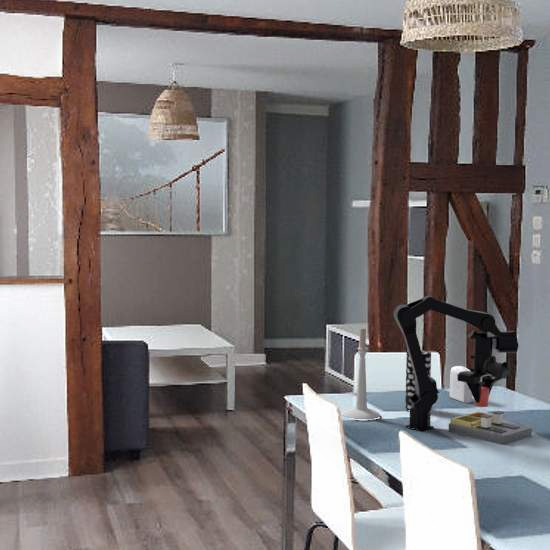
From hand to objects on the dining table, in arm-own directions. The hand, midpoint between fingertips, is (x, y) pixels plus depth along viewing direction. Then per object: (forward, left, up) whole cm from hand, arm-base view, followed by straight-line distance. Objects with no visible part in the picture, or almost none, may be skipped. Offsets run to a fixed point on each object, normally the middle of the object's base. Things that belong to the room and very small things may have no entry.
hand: (481, 401), depth 263 cm
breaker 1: (-7, -7, -6) cm, 11 cm away
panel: (-4, -6, -9) cm, 11 cm away
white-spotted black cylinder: (+4, +28, -9) cm, 30 cm away
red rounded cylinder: (0, 0, -1) cm, 1 cm away
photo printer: (+29, +28, -9) cm, 42 cm away
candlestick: (-18, +34, -9) cm, 40 cm away
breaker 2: (0, -6, -6) cm, 8 cm away
